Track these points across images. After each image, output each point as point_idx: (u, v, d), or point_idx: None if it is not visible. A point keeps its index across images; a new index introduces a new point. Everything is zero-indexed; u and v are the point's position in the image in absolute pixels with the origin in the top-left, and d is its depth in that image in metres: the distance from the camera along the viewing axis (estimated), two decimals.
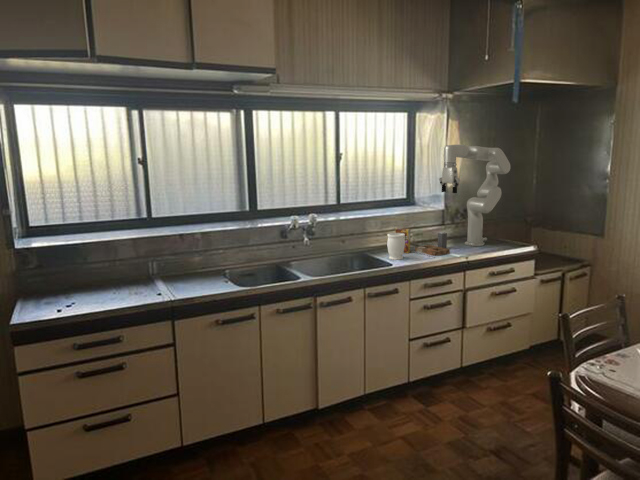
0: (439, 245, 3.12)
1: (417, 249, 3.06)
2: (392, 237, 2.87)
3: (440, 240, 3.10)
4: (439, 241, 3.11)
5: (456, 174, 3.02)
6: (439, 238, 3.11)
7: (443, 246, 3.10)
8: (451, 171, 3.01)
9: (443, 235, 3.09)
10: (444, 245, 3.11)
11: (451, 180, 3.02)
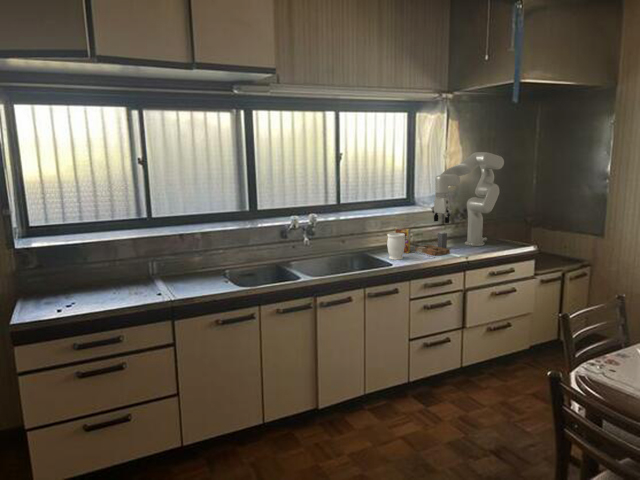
0: (439, 245, 3.12)
1: (417, 249, 3.06)
2: (392, 237, 2.87)
3: (440, 240, 3.10)
4: (439, 241, 3.11)
5: (448, 204, 3.02)
6: (439, 238, 3.11)
7: (443, 246, 3.10)
8: (443, 201, 3.01)
9: (443, 235, 3.09)
10: (444, 245, 3.11)
11: (443, 210, 3.02)
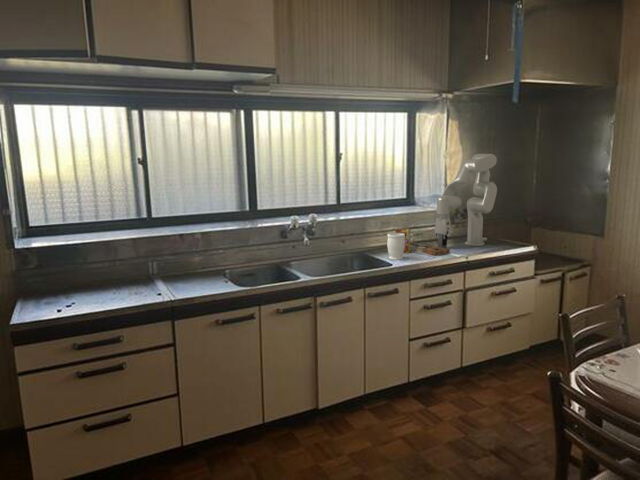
0: (439, 245, 3.12)
1: (417, 249, 3.06)
2: (392, 237, 2.87)
3: (440, 240, 3.10)
4: (439, 241, 3.11)
5: (449, 225, 3.06)
6: (439, 238, 3.11)
7: (443, 246, 3.10)
8: (444, 223, 3.05)
9: None
10: (444, 245, 3.11)
11: (444, 231, 3.06)
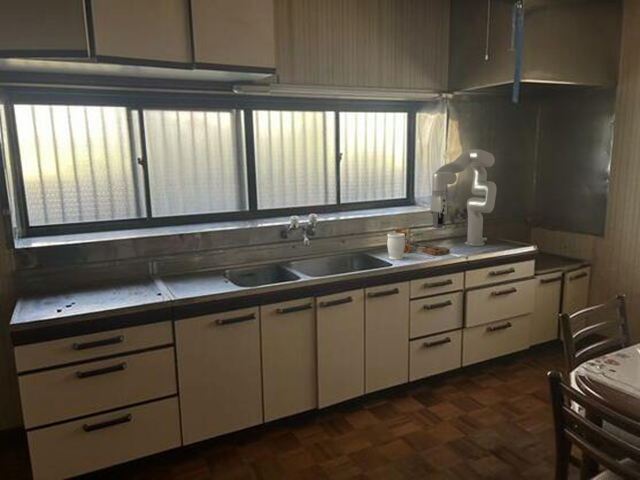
0: (434, 224, 2.96)
1: (417, 249, 3.06)
2: (392, 237, 2.87)
3: (436, 219, 2.95)
4: (434, 220, 2.96)
5: (445, 203, 2.91)
6: (434, 216, 2.96)
7: (439, 225, 2.95)
8: (440, 200, 2.90)
9: None
10: (440, 224, 2.96)
11: (440, 209, 2.91)
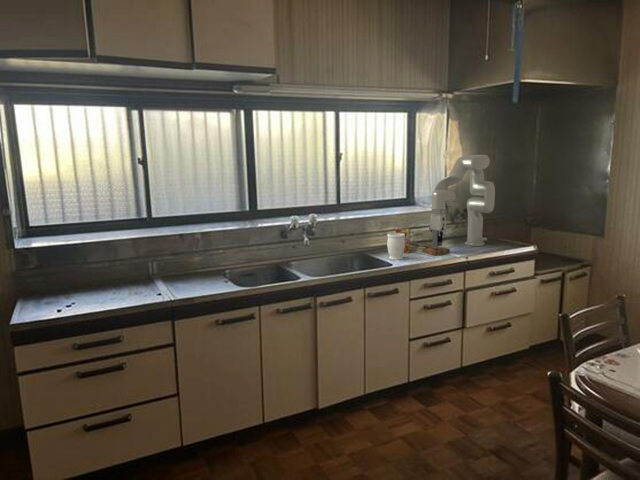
0: (434, 242, 2.98)
1: (417, 249, 3.06)
2: (392, 237, 2.87)
3: (435, 237, 2.96)
4: (434, 238, 2.97)
5: (444, 221, 2.92)
6: (434, 234, 2.97)
7: (438, 243, 2.96)
8: (439, 218, 2.91)
9: None
10: (439, 242, 2.97)
11: (439, 228, 2.92)
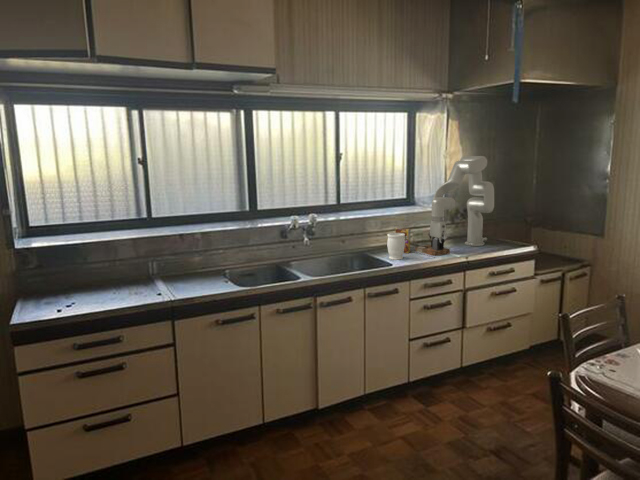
0: None
1: (417, 249, 3.06)
2: (392, 237, 2.87)
3: (435, 247, 2.97)
4: (434, 247, 2.99)
5: (444, 229, 2.93)
6: (434, 244, 2.98)
7: None
8: (439, 226, 2.92)
9: (438, 241, 2.96)
10: None
11: (439, 235, 2.93)
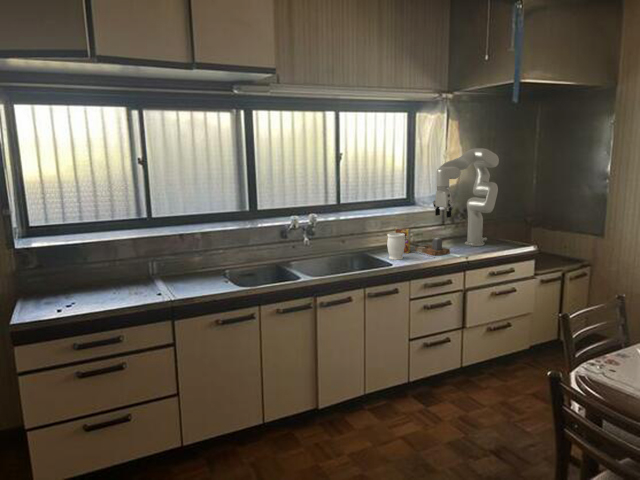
0: None
1: (417, 249, 3.06)
2: (392, 237, 2.87)
3: (435, 247, 2.97)
4: (434, 247, 2.98)
5: (450, 198, 2.94)
6: (434, 244, 2.98)
7: None
8: (444, 195, 2.93)
9: (438, 241, 2.96)
10: None
11: (445, 204, 2.94)
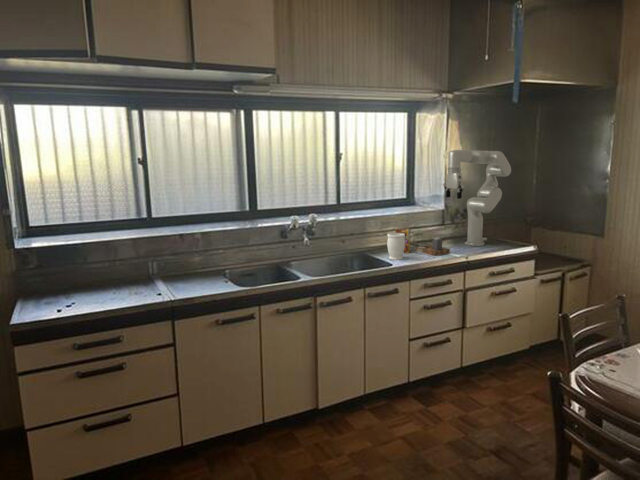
0: None
1: (417, 249, 3.06)
2: (392, 237, 2.87)
3: (435, 247, 2.97)
4: (434, 247, 2.98)
5: (461, 179, 3.02)
6: (434, 244, 2.98)
7: None
8: (456, 176, 3.01)
9: (438, 241, 2.96)
10: None
11: (456, 185, 3.02)
